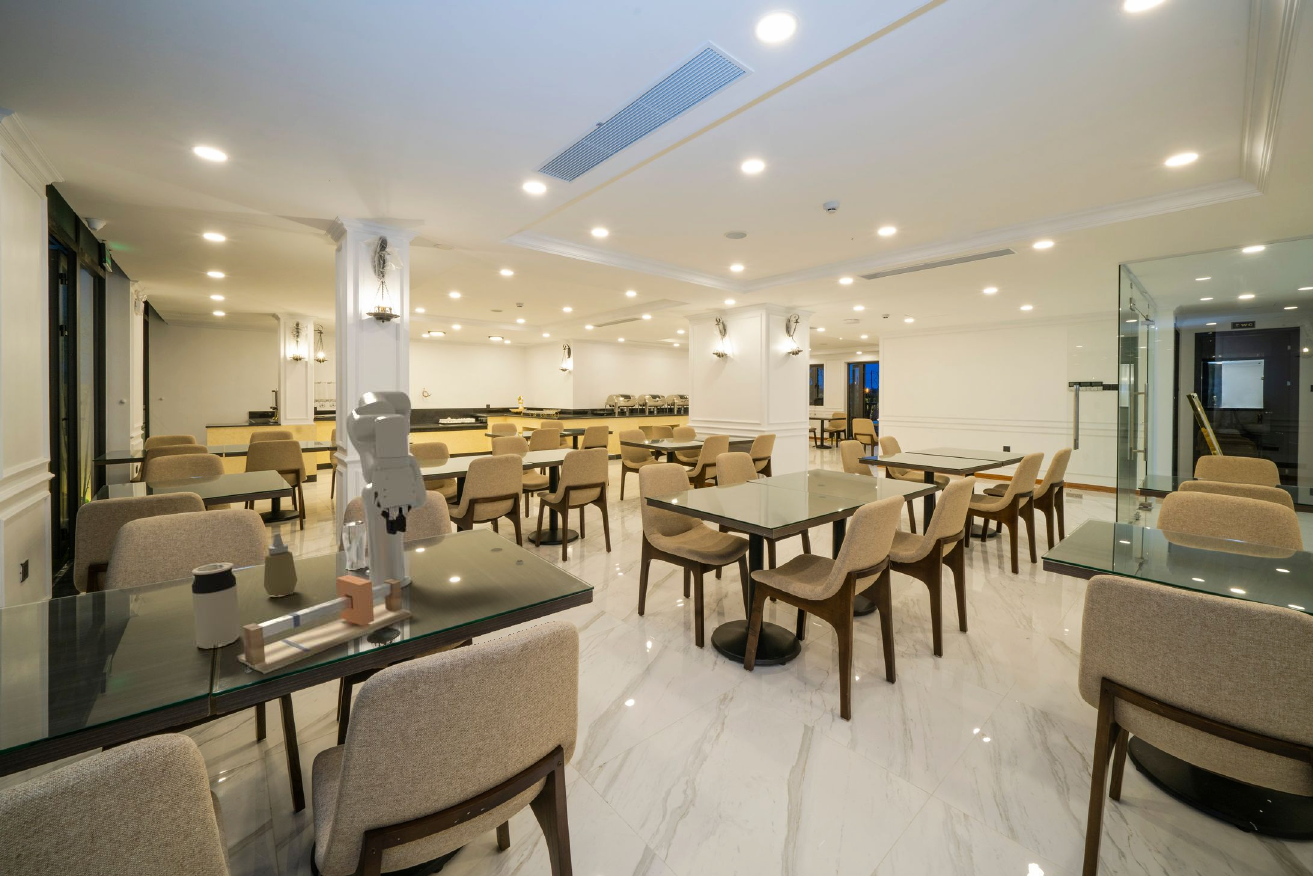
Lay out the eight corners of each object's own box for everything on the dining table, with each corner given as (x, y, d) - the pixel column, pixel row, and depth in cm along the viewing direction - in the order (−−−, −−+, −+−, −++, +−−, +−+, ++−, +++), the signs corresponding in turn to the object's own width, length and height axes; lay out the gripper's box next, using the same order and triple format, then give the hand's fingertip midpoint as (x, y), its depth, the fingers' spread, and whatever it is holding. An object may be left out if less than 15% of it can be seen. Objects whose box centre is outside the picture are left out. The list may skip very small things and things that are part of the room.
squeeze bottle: (257, 597, 156) (253, 535, 155) (286, 588, 164) (281, 529, 162) (276, 601, 153) (272, 538, 152) (304, 591, 161) (300, 531, 159)
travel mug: (205, 653, 123) (198, 575, 121) (191, 645, 127) (184, 569, 125) (246, 639, 129) (240, 565, 128) (231, 632, 134) (226, 560, 132)
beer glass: (344, 572, 178) (341, 527, 177) (344, 566, 184) (342, 522, 183) (368, 569, 181) (365, 524, 180) (368, 563, 187) (365, 520, 186)
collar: (338, 617, 137) (336, 578, 136) (350, 613, 140) (348, 574, 139) (362, 625, 132) (359, 585, 131) (373, 621, 134) (371, 581, 134)
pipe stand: (237, 660, 119) (234, 622, 119) (383, 607, 148) (382, 576, 148) (264, 674, 113) (261, 634, 112) (411, 615, 142) (410, 584, 142)
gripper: (411, 459, 152) (414, 524, 153) (354, 466, 138) (359, 538, 140) (428, 460, 148) (432, 527, 149) (372, 468, 134) (376, 541, 136)
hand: (396, 532), depth 144 cm, fingers closed
